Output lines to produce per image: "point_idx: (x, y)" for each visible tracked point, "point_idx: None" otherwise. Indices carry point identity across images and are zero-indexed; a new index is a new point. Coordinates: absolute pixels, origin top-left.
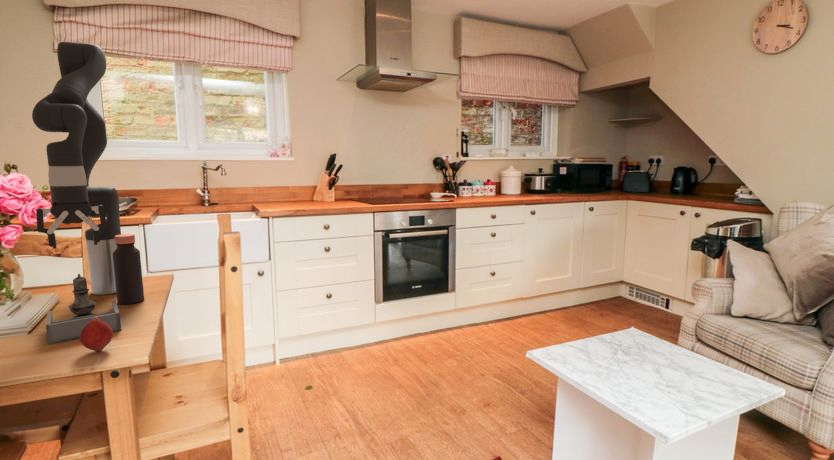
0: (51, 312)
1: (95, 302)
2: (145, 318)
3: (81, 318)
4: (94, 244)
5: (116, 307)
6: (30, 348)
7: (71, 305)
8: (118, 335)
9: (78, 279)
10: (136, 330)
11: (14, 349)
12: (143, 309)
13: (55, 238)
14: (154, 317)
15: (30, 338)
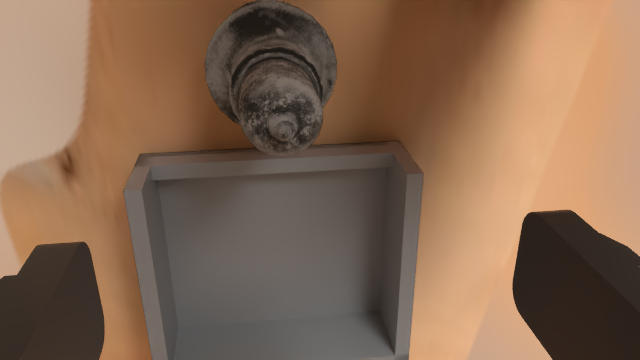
0: (145, 219)
1: (335, 74)
2: (487, 225)
3: (264, 172)
4: (515, 297)
5: (410, 288)
6: (116, 342)
7: (220, 78)
8: None
9: (277, 153)
10: (430, 337)
11: None
12: (516, 88)
13: (42, 332)
14: (517, 231)
15: (89, 239)
